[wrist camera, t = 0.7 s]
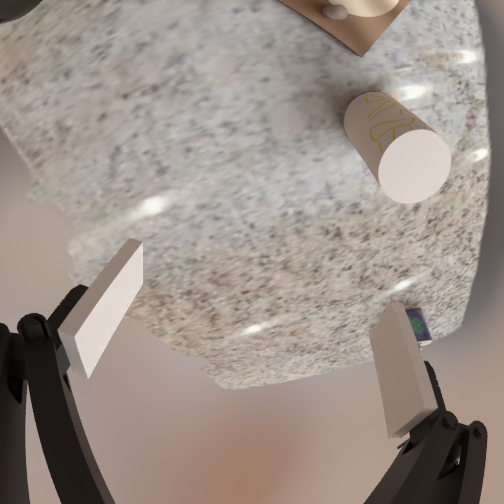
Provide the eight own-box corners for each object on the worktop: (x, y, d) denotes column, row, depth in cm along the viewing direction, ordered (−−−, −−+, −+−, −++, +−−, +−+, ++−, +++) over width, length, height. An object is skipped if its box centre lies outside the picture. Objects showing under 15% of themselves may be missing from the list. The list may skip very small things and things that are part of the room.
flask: (423, 307, 62) (436, 346, 55) (417, 315, 64) (429, 353, 57) (392, 307, 62) (405, 349, 54) (386, 315, 64) (398, 356, 56)
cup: (403, 91, 30) (456, 130, 21) (400, 148, 35) (442, 200, 27) (342, 92, 31) (380, 130, 22) (344, 151, 36) (375, 206, 28)
